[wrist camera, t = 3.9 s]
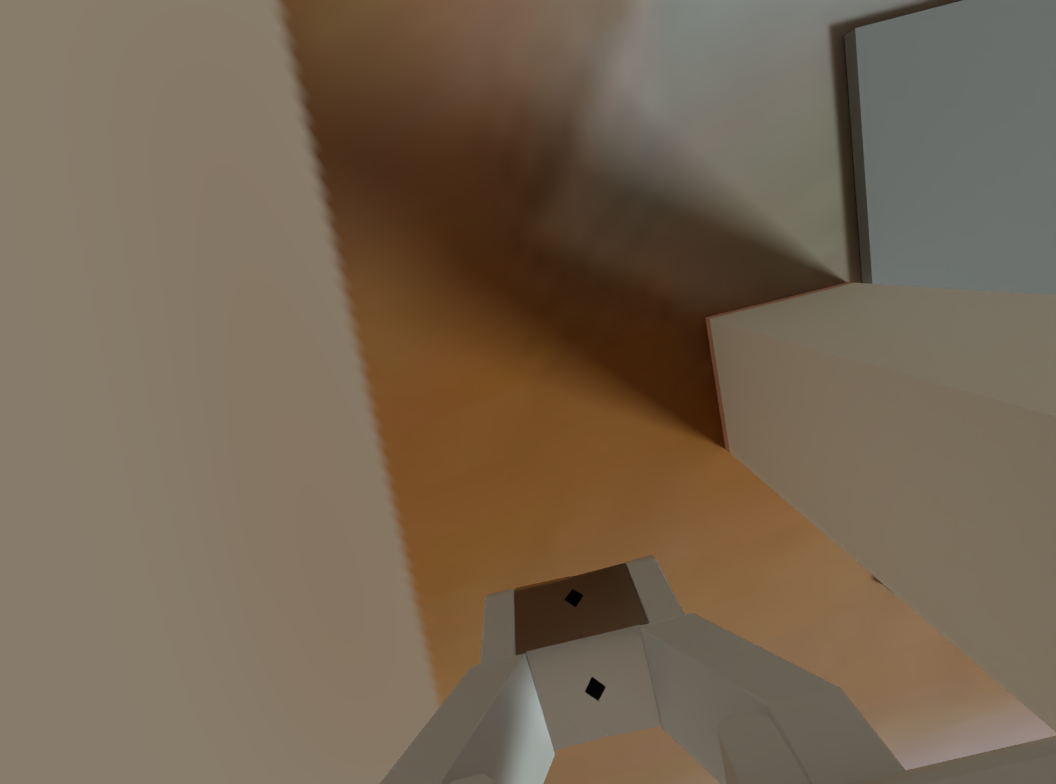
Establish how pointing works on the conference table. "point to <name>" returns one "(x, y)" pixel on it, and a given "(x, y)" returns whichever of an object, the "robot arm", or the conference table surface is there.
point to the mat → (957, 146)
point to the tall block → (915, 451)
